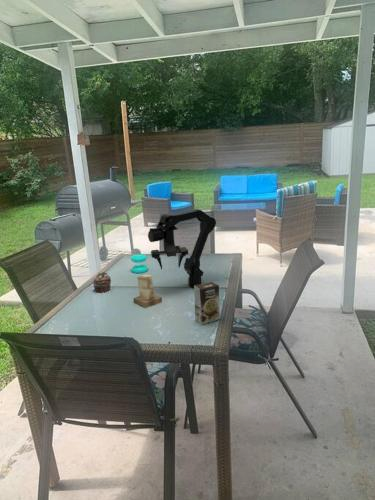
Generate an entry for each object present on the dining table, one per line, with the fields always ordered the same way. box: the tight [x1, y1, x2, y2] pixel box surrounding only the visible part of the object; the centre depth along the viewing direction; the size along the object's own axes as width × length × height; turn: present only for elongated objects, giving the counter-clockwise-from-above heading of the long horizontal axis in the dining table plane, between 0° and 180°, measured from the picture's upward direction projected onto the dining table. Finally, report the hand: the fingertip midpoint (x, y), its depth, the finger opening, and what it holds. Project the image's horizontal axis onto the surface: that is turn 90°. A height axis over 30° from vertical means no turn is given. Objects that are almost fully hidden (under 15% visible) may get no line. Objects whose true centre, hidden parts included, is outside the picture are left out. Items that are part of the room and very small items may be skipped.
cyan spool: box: [130, 253, 149, 274], centre depth 244 cm, size 10×10×10 cm
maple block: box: [137, 274, 155, 300], centre depth 192 cm, size 5×5×11 cm
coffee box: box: [193, 281, 221, 325], centre depth 168 cm, size 9×6×16 cm
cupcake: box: [92, 271, 112, 294], centre depth 213 cm, size 10×10×10 cm
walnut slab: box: [133, 294, 163, 309], centre depth 193 cm, size 10×10×3 cm
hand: (170, 268), depth 203 cm, fingers open, 9 cm apart
